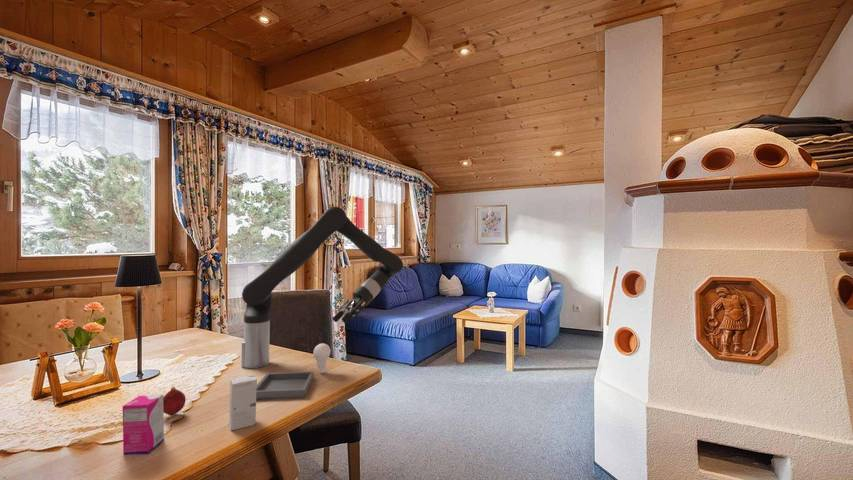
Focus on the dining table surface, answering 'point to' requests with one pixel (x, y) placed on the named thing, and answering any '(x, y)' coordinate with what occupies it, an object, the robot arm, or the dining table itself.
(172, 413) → the onion
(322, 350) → the lightbulb
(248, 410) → the skincare box
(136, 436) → the supplement box
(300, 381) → the parts tray
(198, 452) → the dining table surface
